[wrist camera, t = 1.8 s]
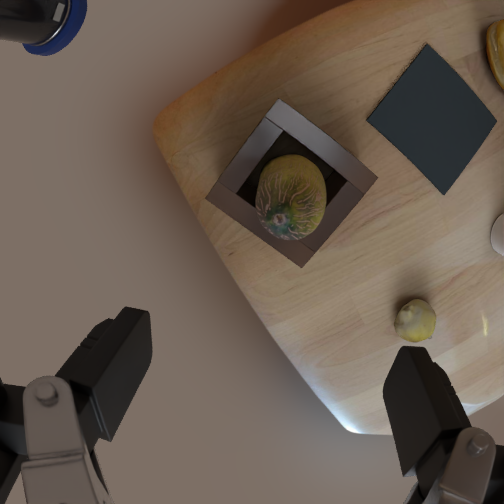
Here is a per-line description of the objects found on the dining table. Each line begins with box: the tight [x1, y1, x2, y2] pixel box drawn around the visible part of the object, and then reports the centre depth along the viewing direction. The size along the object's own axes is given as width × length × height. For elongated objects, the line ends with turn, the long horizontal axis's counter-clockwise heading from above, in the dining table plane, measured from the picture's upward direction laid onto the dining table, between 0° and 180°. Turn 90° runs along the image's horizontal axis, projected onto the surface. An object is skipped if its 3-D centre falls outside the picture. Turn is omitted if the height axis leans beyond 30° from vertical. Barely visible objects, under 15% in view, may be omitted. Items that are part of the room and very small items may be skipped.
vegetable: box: [256, 154, 327, 240], centre depth 28 cm, size 6×6×20 cm
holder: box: [205, 98, 378, 268], centre depth 34 cm, size 12×12×8 cm
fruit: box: [394, 299, 436, 342], centre depth 40 cm, size 6×6×10 cm
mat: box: [366, 44, 497, 195], centre depth 32 cm, size 14×14×1 cm
